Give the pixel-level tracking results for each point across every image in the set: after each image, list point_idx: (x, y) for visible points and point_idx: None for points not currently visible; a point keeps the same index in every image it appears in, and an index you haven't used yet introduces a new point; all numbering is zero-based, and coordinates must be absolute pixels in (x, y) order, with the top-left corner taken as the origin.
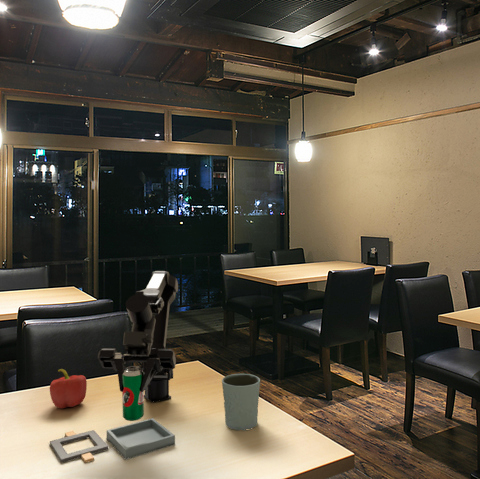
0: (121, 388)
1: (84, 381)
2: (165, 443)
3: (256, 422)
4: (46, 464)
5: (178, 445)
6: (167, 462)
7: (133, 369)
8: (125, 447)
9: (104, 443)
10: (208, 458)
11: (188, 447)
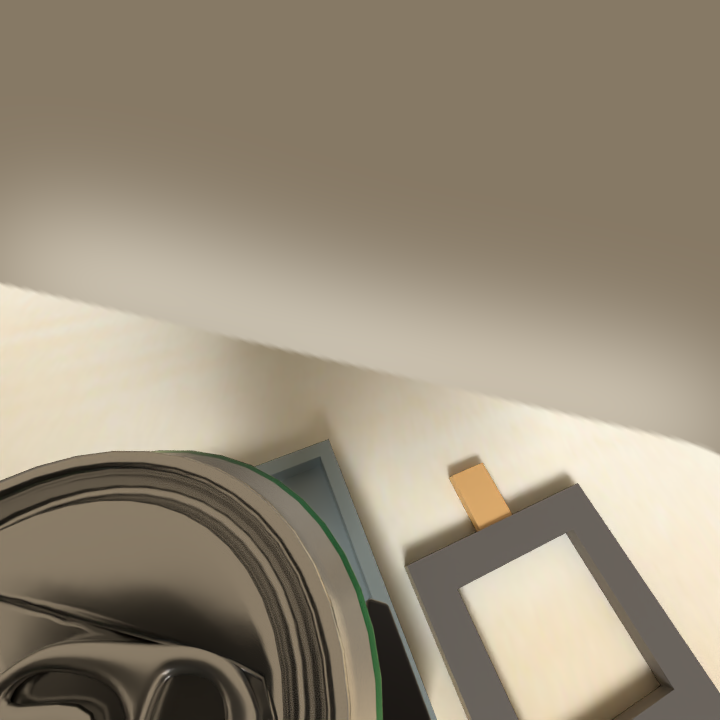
0: (368, 607)
1: None
2: None
3: None
4: (622, 490)
5: None
6: (180, 397)
7: (47, 644)
8: (328, 461)
9: (429, 604)
10: (24, 388)
11: None
